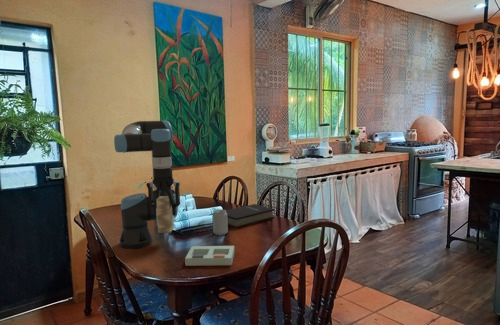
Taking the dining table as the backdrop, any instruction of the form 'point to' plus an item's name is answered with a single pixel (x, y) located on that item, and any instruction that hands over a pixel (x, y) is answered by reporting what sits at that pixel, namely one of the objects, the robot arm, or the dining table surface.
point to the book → (248, 215)
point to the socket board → (210, 255)
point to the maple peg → (164, 215)
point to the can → (220, 222)
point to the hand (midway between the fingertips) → (165, 222)
